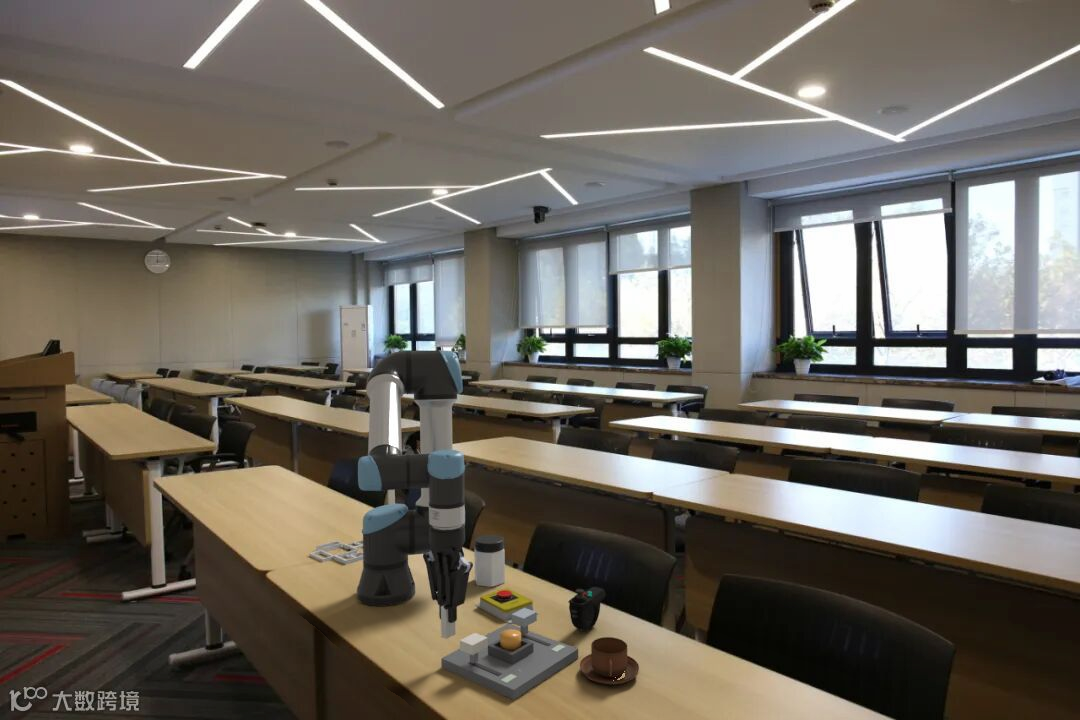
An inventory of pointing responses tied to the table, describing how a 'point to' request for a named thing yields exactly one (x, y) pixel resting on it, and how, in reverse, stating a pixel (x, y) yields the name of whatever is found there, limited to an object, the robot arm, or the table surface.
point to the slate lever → (524, 619)
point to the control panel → (512, 663)
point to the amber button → (510, 639)
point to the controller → (586, 607)
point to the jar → (489, 560)
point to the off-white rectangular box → (473, 645)
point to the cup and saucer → (609, 662)
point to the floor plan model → (339, 557)
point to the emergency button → (504, 603)
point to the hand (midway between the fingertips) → (448, 635)
